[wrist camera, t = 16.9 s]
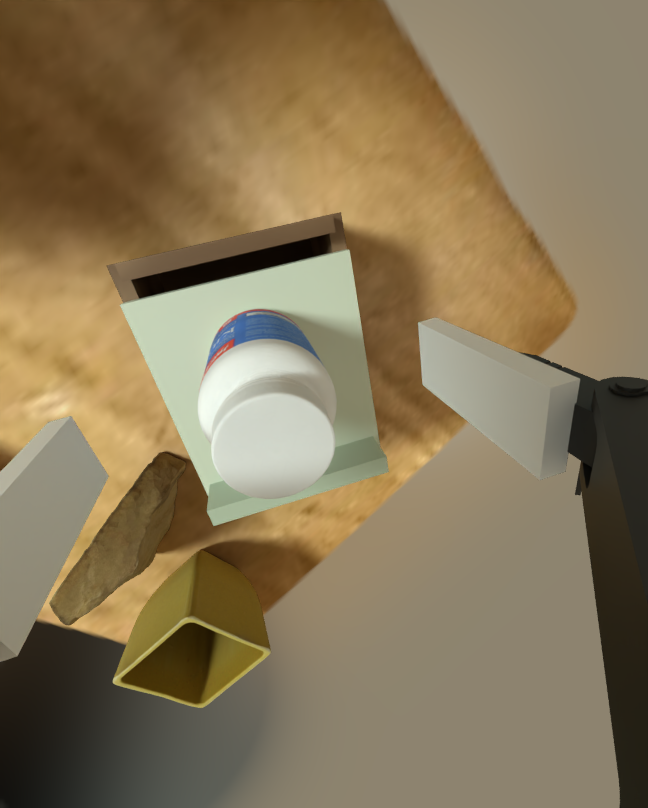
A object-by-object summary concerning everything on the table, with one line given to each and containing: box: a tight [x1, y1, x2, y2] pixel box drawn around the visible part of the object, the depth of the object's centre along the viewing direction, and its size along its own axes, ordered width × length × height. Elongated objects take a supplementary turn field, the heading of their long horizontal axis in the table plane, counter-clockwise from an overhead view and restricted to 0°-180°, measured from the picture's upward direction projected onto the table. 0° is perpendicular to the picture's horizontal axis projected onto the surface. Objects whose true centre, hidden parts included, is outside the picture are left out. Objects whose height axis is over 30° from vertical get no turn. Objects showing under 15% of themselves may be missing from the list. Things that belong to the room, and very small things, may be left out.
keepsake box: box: [107, 212, 347, 303], centre depth 24 cm, size 14×12×8 cm
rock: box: [49, 452, 186, 625], centre depth 29 cm, size 11×9×10 cm
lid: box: [120, 249, 389, 526], centre depth 20 cm, size 13×12×3 cm
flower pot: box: [113, 550, 271, 708], centre depth 32 cm, size 9×9×9 cm
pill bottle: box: [198, 308, 337, 499], centre depth 16 cm, size 6×5×10 cm
